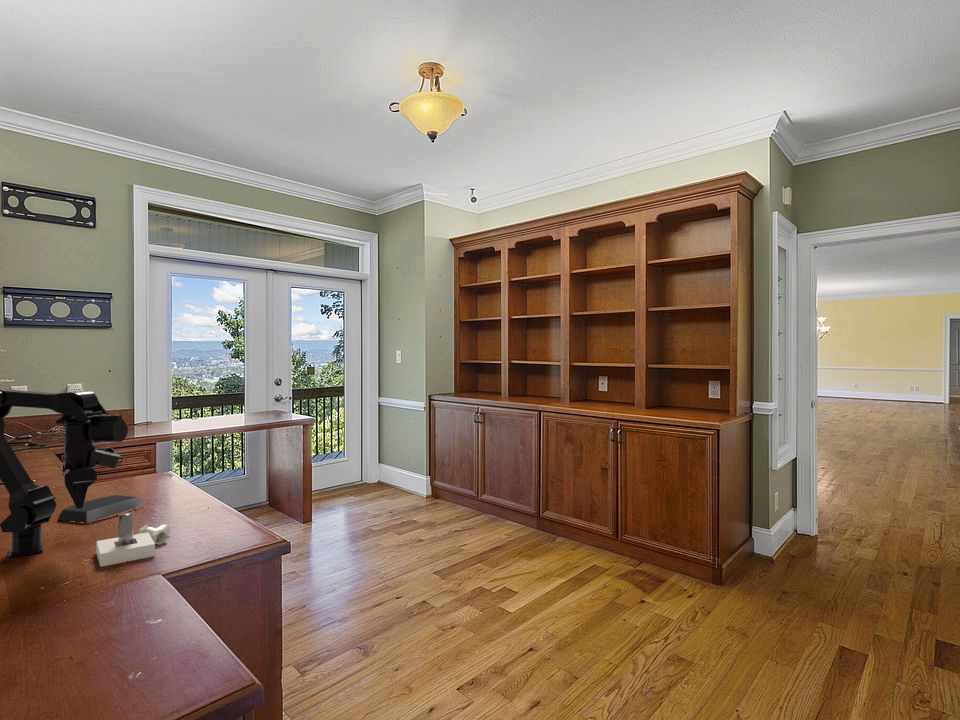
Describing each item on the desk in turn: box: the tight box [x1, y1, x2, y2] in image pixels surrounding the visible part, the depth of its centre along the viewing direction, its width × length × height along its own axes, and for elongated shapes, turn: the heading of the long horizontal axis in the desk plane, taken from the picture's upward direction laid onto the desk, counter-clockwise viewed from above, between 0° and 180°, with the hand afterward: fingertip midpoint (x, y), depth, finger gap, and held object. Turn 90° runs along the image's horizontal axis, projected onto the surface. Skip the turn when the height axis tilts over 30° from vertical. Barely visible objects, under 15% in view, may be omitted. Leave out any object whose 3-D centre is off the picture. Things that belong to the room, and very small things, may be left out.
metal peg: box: [117, 512, 134, 547], centre depth 131 cm, size 3×3×10 cm
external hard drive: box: [57, 494, 145, 523], centre depth 165 cm, size 13×19×4 cm
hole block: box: [96, 532, 156, 568], centre depth 131 cm, size 11×11×3 cm
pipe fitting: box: [137, 524, 171, 546], centre depth 142 cm, size 8×4×7 cm
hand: (78, 504), depth 132 cm, fingers open, 9 cm apart
